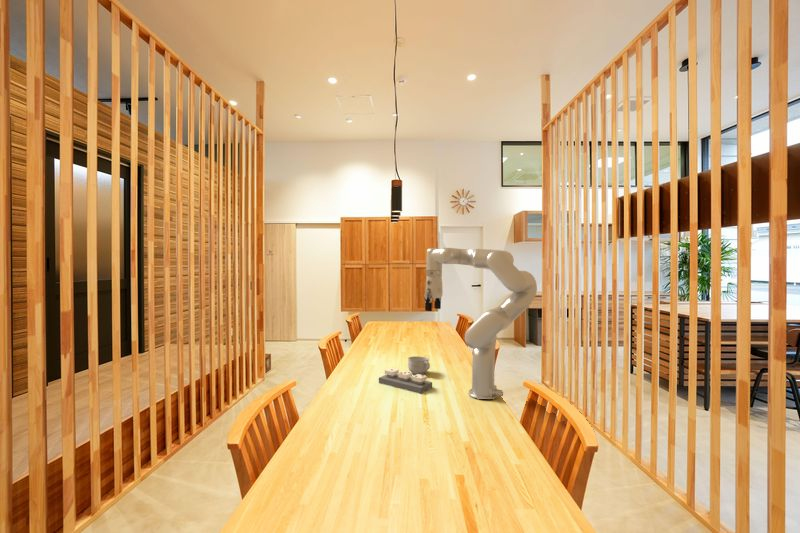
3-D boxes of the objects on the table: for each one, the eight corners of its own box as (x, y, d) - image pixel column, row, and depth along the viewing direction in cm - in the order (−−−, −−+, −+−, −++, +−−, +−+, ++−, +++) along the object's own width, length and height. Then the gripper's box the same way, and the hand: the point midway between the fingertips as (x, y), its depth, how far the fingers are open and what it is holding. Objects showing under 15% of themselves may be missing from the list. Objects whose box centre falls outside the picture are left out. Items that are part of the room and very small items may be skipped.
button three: (412, 381, 175) (412, 372, 175) (406, 384, 171) (406, 374, 171) (403, 379, 178) (403, 370, 178) (398, 382, 174) (398, 373, 174)
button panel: (432, 387, 172) (432, 382, 172) (420, 393, 164) (420, 388, 164) (391, 377, 186) (391, 372, 186) (378, 382, 178) (378, 377, 178)
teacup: (404, 371, 196) (404, 356, 196) (422, 369, 201) (422, 354, 201) (416, 379, 184) (416, 363, 184) (435, 376, 188) (435, 360, 188)
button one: (398, 378, 180) (398, 369, 180) (392, 380, 176) (392, 371, 176) (390, 376, 183) (390, 367, 183) (384, 378, 179) (384, 369, 179)
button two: (426, 384, 171) (426, 375, 170) (420, 387, 167) (420, 378, 167) (417, 382, 173) (417, 373, 173) (412, 385, 169) (412, 376, 169)
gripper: (433, 275, 166) (432, 312, 167) (448, 273, 181) (447, 308, 182) (418, 274, 170) (417, 311, 171) (434, 273, 185) (433, 307, 186)
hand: (433, 309), depth 176 cm, fingers open, 9 cm apart
